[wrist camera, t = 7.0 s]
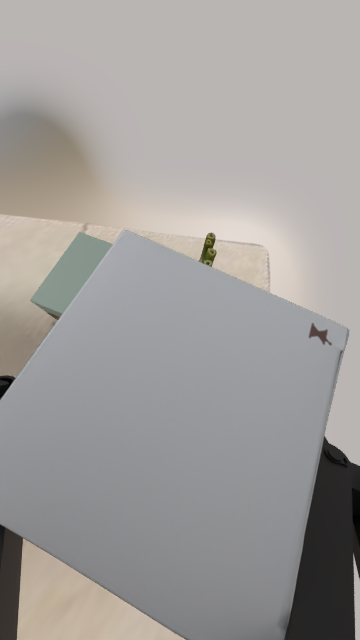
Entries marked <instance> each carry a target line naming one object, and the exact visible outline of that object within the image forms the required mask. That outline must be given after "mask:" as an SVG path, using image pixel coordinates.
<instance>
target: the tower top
mask: <svg viewBox="0 0 360 640" xmlns="http://www.w3.org/2000/svg"><path fill="white" fill-rule="evenodd" d="M112 245H113V244H111V243H108V242H105V241H102V240H100V239H97V238H94V237H91V236H89V235H86V234H83V233H80V232H79V233H78V235H77V236H76V238H75V239H74V240H73V242H72V243H71V244H70V246H69V247H68V249H67V250H66V251H65V253H64V254H63V256H62V257H61V258H60V260H59V261H58V262H57V264H56V265H55V267H54V268H53V269H52V271H51V272H50V274H49V275H48V276H47V278H46V279H45V280H44V282H43V283H42V285H41V286H40V287H39V289H38V290H37V291H36V293H35V294H34V296H33V297H32V298H31V300H30V301H31V302H33V303H34V304H36V305H37V306H39V307H40V308H41V309H43V310H44V311H46V312H48V313H51V314H53V315H56V316H58V317H61V315H62V314H63V313H64V311H65V310H66V309H67V307H68V306H69V304H70V303H71V302H72V300H73V299H74V298H75V296H76V295H77V293H78V292H79V291H80V289H81V288H82V287H83V285H84V284H85V282H86V281H87V280H88V278H89V277H90V276H91V274H92V273H93V272H94V270H95V269H96V267H97V266H98V265H99V263H100V262H101V260H102V259H103V258H104V256H105V255H106V253H107V252H108V251H109V249H110V248H111V246H112Z"/></svg>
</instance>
